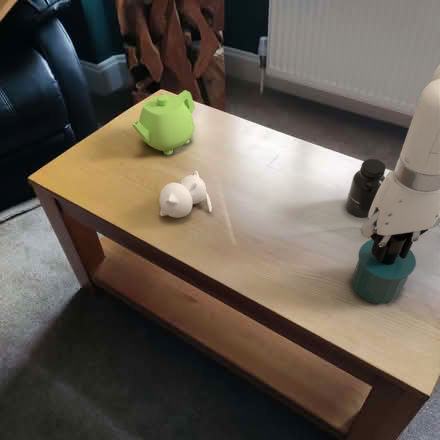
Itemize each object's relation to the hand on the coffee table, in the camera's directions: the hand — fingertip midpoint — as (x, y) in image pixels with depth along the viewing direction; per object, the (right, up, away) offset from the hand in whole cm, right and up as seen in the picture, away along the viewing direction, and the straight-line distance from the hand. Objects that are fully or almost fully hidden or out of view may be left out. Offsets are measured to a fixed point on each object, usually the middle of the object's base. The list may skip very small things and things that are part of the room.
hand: (388, 253), depth 77 cm
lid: (0, -1, +1) cm, 1 cm away
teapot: (-44, +34, +39) cm, 68 cm away
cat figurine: (-38, +12, +22) cm, 46 cm away
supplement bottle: (+2, +12, +20) cm, 24 cm away
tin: (0, -5, +7) cm, 9 cm away
